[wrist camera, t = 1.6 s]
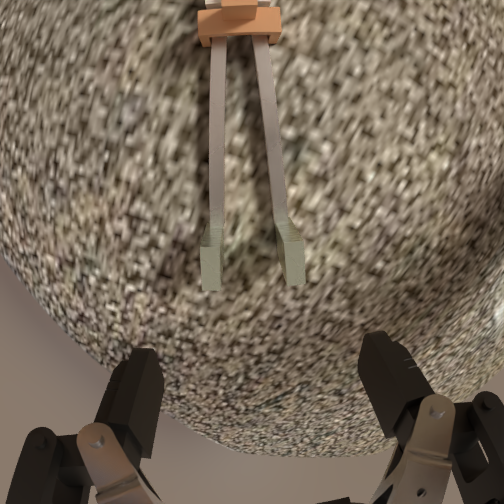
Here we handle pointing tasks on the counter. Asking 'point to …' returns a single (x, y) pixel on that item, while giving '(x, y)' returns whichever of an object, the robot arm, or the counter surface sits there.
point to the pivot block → (215, 3)
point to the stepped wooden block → (239, 21)
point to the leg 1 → (215, 171)
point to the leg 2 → (277, 168)
